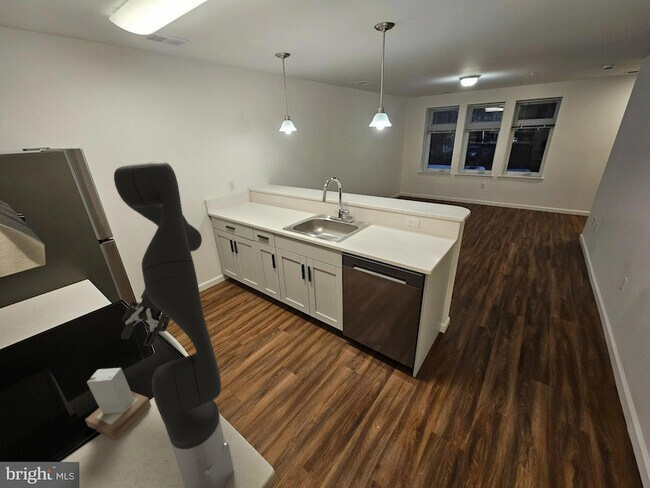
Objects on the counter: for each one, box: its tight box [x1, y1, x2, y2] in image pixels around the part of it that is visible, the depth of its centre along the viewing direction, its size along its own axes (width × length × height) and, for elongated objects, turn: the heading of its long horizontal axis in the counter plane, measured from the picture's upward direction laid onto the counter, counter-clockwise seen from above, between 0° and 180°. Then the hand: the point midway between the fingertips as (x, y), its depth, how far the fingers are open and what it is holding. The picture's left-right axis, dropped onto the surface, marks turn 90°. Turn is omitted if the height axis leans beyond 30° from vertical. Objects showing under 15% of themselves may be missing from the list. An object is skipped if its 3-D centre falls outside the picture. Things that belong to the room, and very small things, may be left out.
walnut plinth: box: [84, 390, 152, 441], centre depth 73 cm, size 10×10×3 cm
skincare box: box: [86, 367, 134, 414], centre depth 70 cm, size 6×4×12 cm
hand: (135, 342), depth 75 cm, fingers open, 8 cm apart
